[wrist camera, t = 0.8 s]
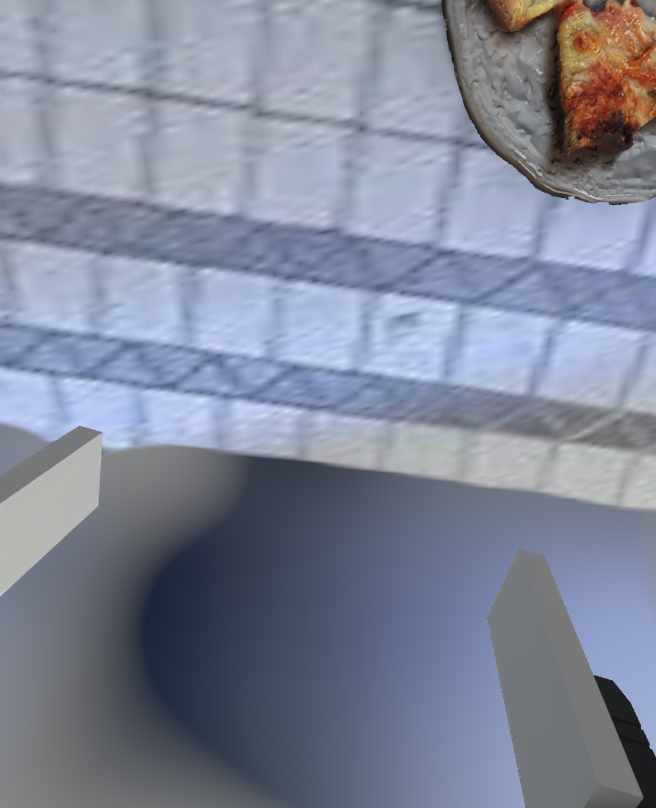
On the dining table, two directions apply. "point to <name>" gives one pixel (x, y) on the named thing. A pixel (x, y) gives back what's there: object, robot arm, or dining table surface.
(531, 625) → the robot arm
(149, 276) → the dining table surface
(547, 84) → the food plate
